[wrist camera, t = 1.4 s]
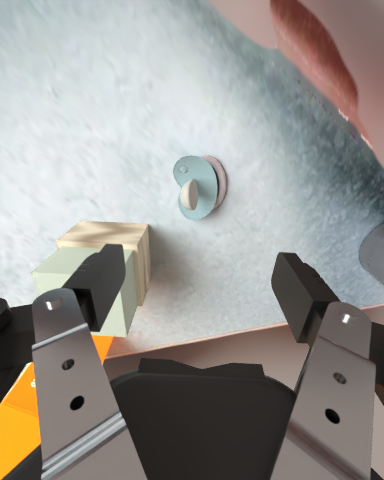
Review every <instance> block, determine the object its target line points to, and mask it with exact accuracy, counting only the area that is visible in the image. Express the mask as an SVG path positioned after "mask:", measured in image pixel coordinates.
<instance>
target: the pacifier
mask: <svg viewBox="0 0 384 480" xmlns="http://www.w3.org/2000/svg"><path fill="white" fill-rule="evenodd" d="M183 166H185V167H187V169H188V171H187V172H186V173H182V172H181V171H180V168H181V167H183ZM211 166H212V167H213V168H214V169H215V170H216V172H217V175H218V178H219V191H218V194H217V180H216V176H215V173H214V170H213V168H212V167H211ZM173 173H174V178H175V180H176V182H177V183H178V184H179V185H180V186H181V192H180V194H179V199H178V204H179V208H180V211H181V212H182V214H183V215H184V216H185V217H186V218H188V219H191V220H199V219H202V218H204V217H205V216H206V215H208V214H209V213H210V212H211V211H212V209H214V208H216V207H217V206H219V205H220V203H221V202H222V200H223V198H224V196H225V191H226V177H225V173H224V170H223V168H222V166H221V164H220V163H219V162H218V161H217V160H216V159H215V158H213V157H211V156H203V157H197V156H185V157H183V158H181V159H179V160H178V161H177V162H176V164H175V166H174V169H173Z"/></svg>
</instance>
